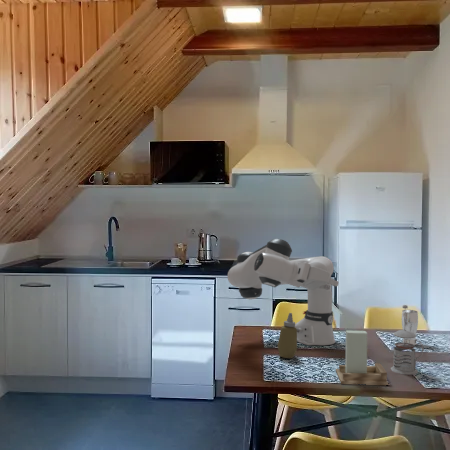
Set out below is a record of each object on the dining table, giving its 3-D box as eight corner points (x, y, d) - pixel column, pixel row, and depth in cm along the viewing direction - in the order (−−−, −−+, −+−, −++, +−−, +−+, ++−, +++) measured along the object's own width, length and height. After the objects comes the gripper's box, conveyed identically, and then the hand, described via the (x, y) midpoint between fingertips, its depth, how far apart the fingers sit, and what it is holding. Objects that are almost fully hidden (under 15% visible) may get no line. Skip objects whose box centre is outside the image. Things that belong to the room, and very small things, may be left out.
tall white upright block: (346, 377, 171) (347, 332, 171) (345, 373, 175) (345, 330, 174) (366, 377, 170) (367, 333, 170) (364, 374, 174) (365, 330, 173)
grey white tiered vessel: (393, 364, 188) (394, 301, 188) (424, 369, 183) (425, 304, 182) (388, 371, 180) (388, 305, 179) (421, 377, 174) (422, 309, 173)
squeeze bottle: (297, 355, 200) (301, 313, 200) (294, 360, 192) (299, 316, 192) (277, 352, 202) (282, 310, 202) (275, 357, 194) (279, 313, 194)
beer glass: (415, 342, 220) (415, 309, 220) (419, 346, 213) (420, 313, 213) (399, 341, 221) (400, 309, 221) (403, 345, 214) (404, 312, 214)
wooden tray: (341, 383, 167) (341, 372, 167) (335, 371, 180) (335, 360, 180) (387, 385, 166) (388, 374, 165) (379, 372, 179) (379, 362, 178)
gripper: (289, 286, 185) (322, 297, 185) (303, 278, 165) (340, 290, 166) (293, 271, 187) (326, 282, 187) (307, 261, 167) (344, 273, 168)
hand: (333, 286), depth 176 cm, fingers open, 8 cm apart
